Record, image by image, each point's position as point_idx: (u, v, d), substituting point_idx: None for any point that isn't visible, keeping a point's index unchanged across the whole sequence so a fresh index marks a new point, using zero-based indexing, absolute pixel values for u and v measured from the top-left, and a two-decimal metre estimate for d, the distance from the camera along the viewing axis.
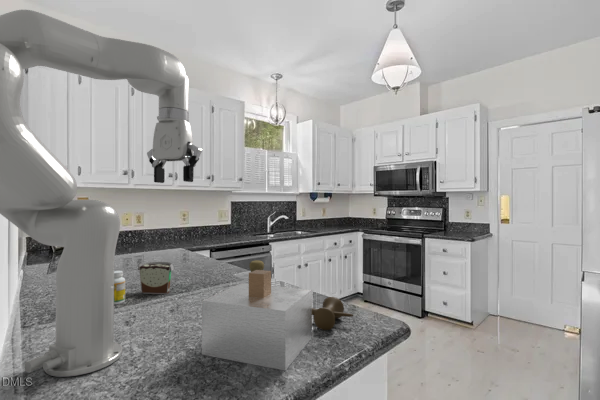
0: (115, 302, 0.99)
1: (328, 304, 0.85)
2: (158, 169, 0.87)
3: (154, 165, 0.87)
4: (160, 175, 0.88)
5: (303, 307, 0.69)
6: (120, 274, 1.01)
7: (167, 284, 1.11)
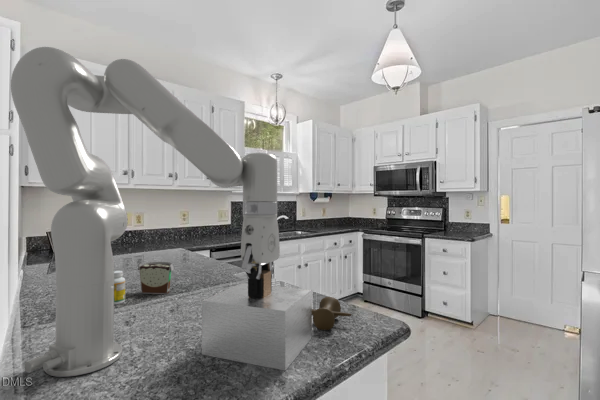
0: (115, 302, 0.99)
1: (326, 304, 0.85)
2: None
3: (259, 276, 0.67)
4: None
5: (303, 307, 0.69)
6: (120, 274, 1.01)
7: (167, 284, 1.11)
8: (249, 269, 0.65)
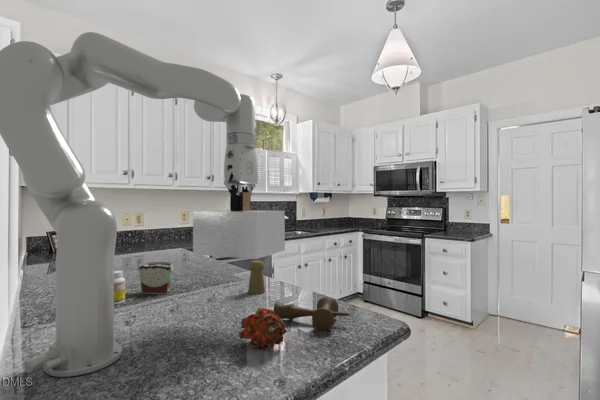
0: (115, 302, 0.99)
1: (324, 304, 0.85)
2: None
3: (239, 193, 0.83)
4: None
5: (275, 220, 0.85)
6: (120, 274, 1.01)
7: (167, 284, 1.11)
8: (230, 185, 0.81)
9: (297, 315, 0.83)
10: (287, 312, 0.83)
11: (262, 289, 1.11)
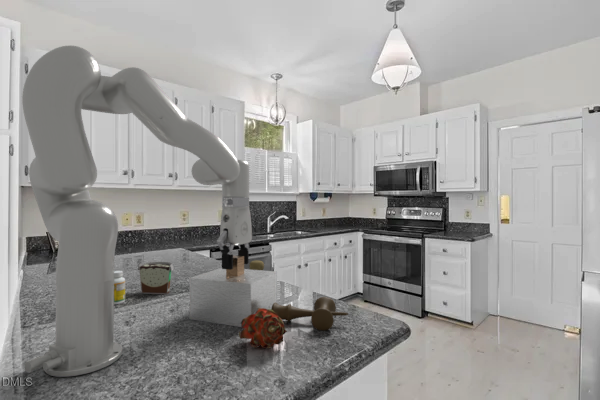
0: (115, 302, 0.99)
1: (322, 304, 0.84)
2: None
3: (230, 252, 0.86)
4: None
5: (268, 284, 0.89)
6: (120, 274, 1.01)
7: (167, 284, 1.11)
8: (222, 244, 0.84)
9: (295, 316, 0.83)
10: (285, 313, 0.82)
11: None
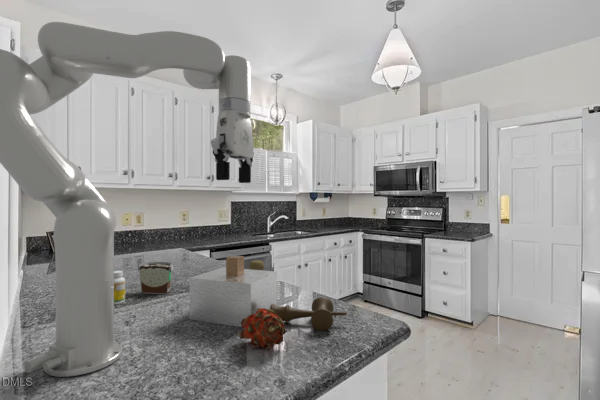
0: (115, 302, 0.99)
1: (320, 305, 0.84)
2: None
3: (226, 159, 0.72)
4: None
5: (268, 284, 0.89)
6: (120, 274, 1.01)
7: (167, 284, 1.11)
8: (217, 145, 0.70)
9: (294, 317, 0.82)
10: (284, 314, 0.82)
11: None
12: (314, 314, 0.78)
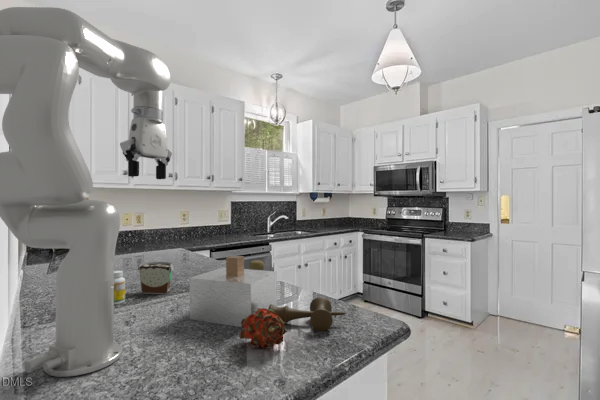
0: (115, 302, 0.99)
1: (318, 305, 0.84)
2: None
3: (135, 158, 0.85)
4: None
5: (268, 284, 0.89)
6: (120, 274, 1.01)
7: (167, 284, 1.11)
8: (125, 147, 0.83)
9: (293, 317, 0.82)
10: (283, 315, 0.81)
11: None
12: (314, 314, 0.78)
